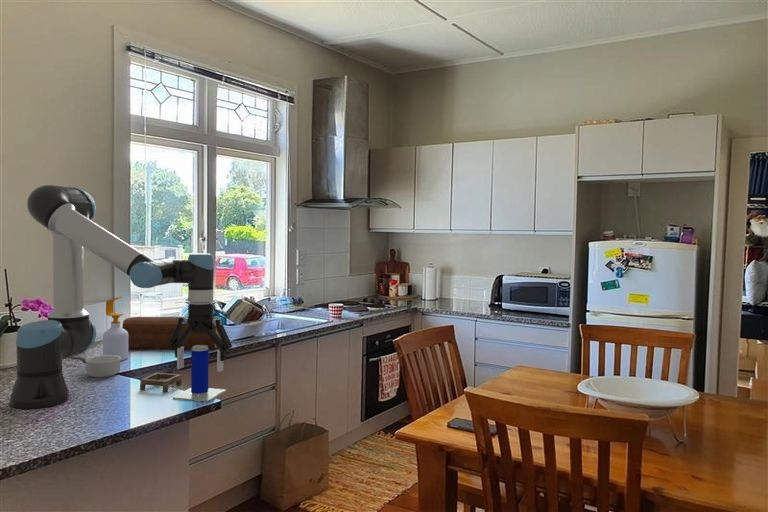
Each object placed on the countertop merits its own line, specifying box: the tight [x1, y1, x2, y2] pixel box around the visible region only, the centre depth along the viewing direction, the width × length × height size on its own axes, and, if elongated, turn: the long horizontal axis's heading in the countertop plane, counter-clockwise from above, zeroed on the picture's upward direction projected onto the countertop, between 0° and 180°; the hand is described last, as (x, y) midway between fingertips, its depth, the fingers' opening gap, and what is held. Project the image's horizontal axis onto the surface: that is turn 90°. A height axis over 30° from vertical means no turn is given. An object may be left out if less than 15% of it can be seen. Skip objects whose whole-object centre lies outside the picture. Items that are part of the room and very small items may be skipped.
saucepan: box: [67, 355, 121, 378], centre depth 203 cm, size 12×20×6 cm, turn 78°
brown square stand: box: [139, 372, 182, 393], centre depth 187 cm, size 9×9×4 cm
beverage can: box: [190, 345, 210, 395], centre depth 180 cm, size 5×5×15 cm
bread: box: [121, 316, 221, 351], centre depth 250 cm, size 16×39×13 cm, turn 97°
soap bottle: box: [102, 296, 129, 362], centre depth 224 cm, size 9×9×25 cm
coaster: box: [171, 387, 227, 403], centre depth 180 cm, size 12×12×1 cm
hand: (200, 369), depth 180 cm, fingers open, 13 cm apart
